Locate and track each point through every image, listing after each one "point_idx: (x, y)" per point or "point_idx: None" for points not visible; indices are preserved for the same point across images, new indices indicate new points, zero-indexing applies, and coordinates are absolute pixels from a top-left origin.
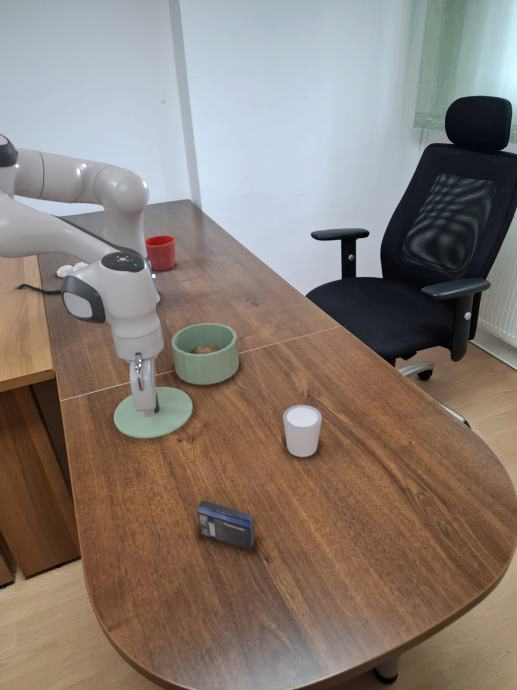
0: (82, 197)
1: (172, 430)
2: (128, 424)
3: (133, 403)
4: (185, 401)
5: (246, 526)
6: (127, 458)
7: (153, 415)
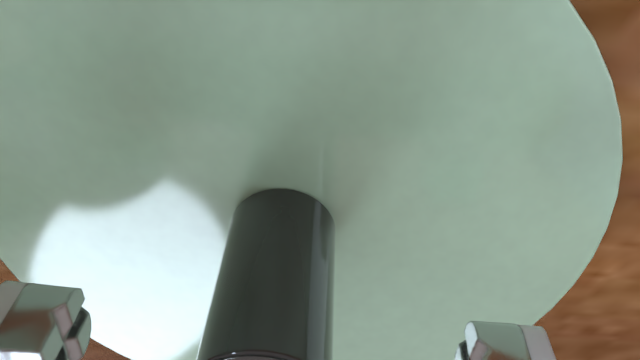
0: None
1: (618, 130)
2: (388, 353)
3: (172, 320)
4: None
5: None
6: (632, 344)
7: (541, 335)
